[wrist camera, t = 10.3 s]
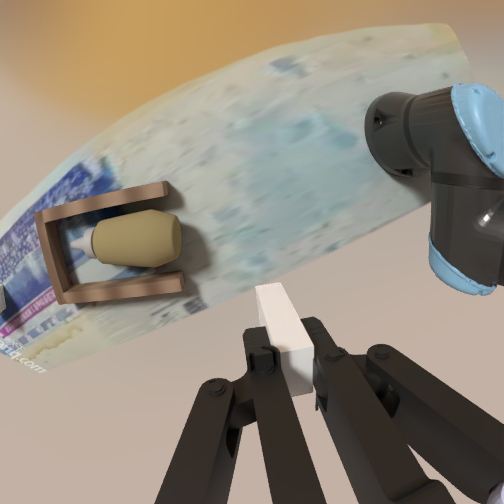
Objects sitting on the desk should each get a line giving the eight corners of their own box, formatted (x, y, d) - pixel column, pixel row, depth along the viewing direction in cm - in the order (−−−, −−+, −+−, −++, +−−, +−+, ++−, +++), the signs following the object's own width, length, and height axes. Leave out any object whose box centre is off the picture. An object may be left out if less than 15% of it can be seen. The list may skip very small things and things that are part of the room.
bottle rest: (166, 180, 38) (162, 181, 35) (184, 282, 43) (182, 291, 40) (44, 209, 37) (33, 213, 33) (67, 296, 41) (58, 304, 38)
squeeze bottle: (181, 278, 37) (76, 280, 37) (187, 235, 42) (90, 242, 42) (165, 239, 31) (51, 247, 31) (176, 194, 36) (70, 208, 36)
